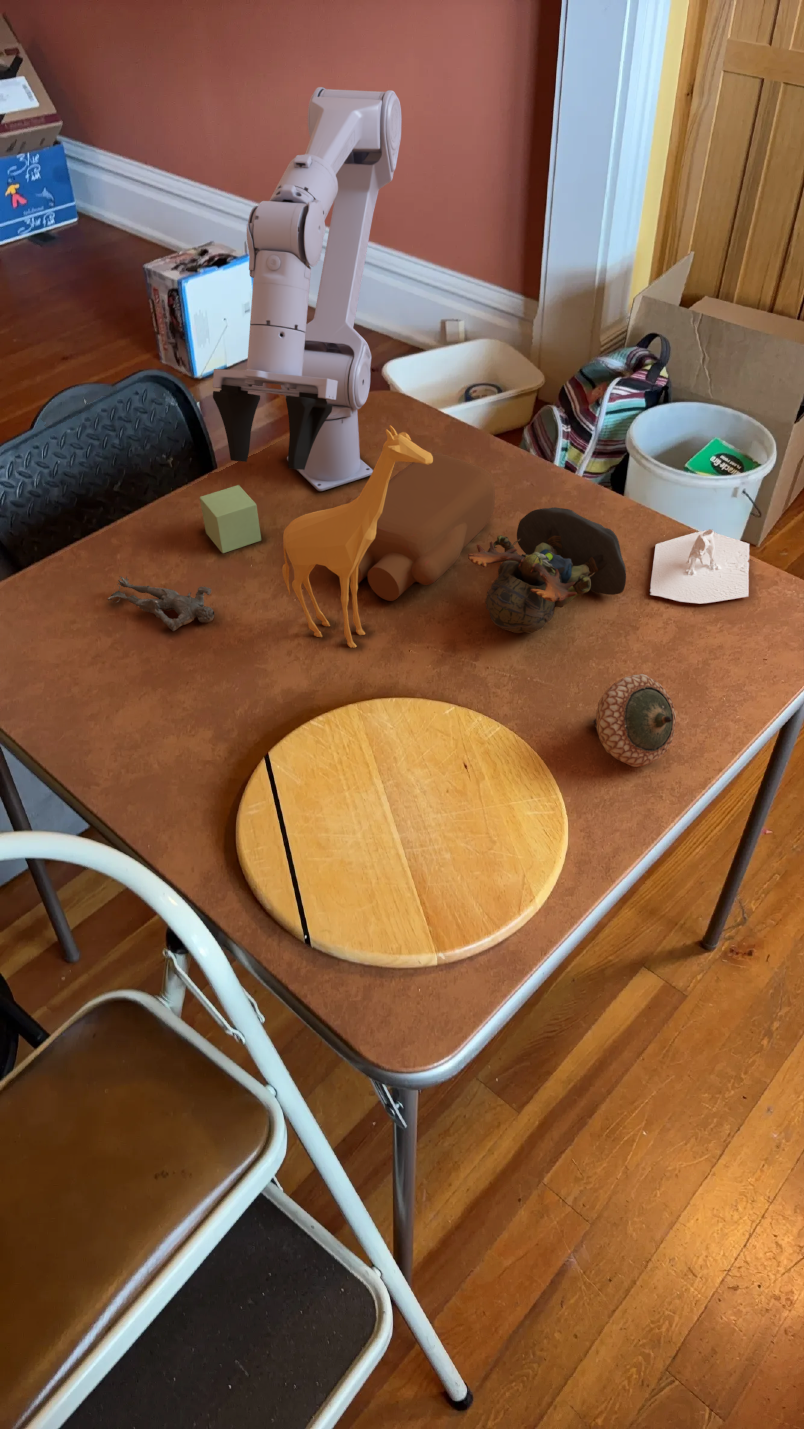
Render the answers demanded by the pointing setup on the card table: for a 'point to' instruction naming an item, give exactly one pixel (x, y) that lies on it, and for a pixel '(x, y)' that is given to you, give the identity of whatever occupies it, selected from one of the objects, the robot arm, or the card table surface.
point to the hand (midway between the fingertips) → (267, 465)
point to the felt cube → (230, 518)
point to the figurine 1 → (169, 604)
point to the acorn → (635, 720)
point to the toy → (426, 523)
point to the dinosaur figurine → (701, 568)
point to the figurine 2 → (550, 567)
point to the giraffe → (344, 533)
